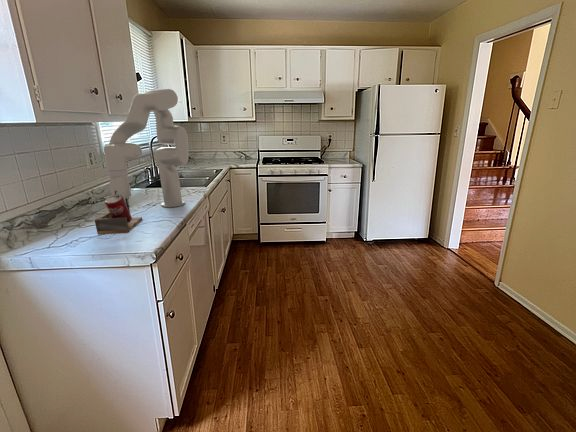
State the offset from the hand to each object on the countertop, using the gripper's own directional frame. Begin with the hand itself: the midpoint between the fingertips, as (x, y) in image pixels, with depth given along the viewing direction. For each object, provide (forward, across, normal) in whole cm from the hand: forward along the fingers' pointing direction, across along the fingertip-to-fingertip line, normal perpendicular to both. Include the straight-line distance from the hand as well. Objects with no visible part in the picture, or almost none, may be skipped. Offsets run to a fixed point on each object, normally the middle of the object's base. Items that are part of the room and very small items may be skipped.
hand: (125, 213), depth 139 cm
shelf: (+5, +4, -1) cm, 6 cm away
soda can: (+3, +4, 0) cm, 5 cm away
